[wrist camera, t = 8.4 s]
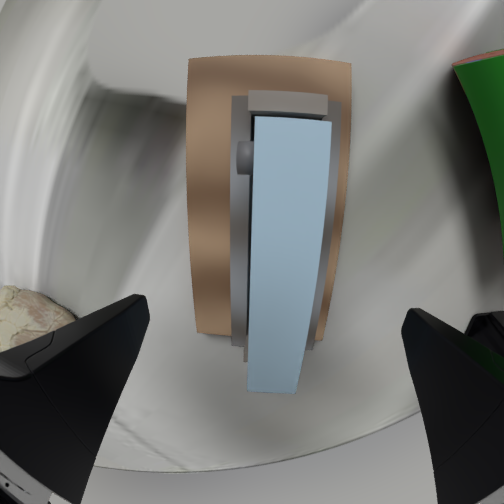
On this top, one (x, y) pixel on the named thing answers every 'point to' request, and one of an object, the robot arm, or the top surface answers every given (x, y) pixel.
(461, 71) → the motor
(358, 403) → the top surface
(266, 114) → the cabinet base
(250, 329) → the cabinet door
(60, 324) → the lumpy boulder
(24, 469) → the robot arm
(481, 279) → the top surface
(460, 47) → the top surface
